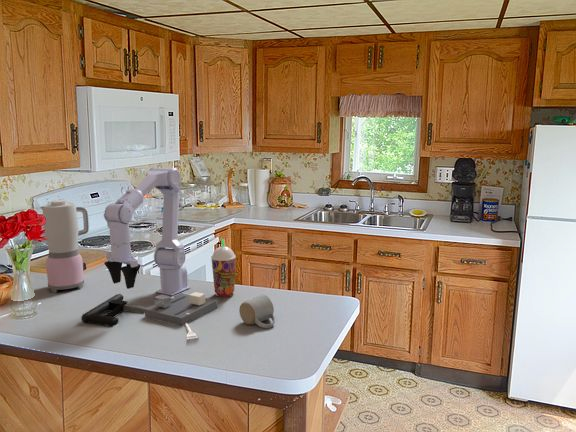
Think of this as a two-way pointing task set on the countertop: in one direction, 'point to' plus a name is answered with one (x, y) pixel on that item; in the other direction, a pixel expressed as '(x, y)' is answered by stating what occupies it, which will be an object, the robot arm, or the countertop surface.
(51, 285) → the blender
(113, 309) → the gun
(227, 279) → the smoothie
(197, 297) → the block
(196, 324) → the countertop surface
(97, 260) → the countertop surface
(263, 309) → the ceramic mug
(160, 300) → the steel fader
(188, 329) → the fork
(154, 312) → the gray slider board
